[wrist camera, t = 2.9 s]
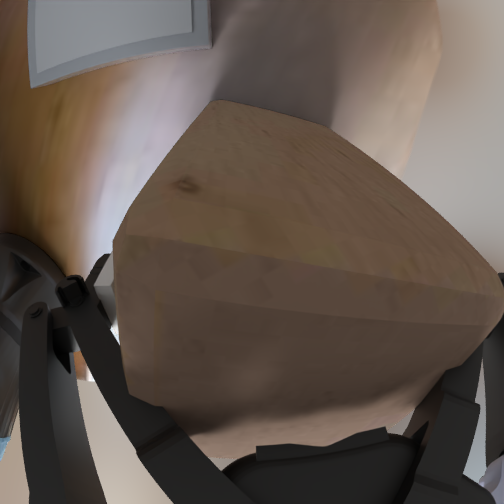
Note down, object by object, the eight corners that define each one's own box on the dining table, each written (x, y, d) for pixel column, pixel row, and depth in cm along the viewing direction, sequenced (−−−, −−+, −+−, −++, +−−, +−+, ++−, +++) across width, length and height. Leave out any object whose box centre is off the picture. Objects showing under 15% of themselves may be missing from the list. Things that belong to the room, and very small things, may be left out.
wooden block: (208, 96, 20) (88, 218, 3) (333, 127, 22) (529, 298, 5) (186, 210, 25) (132, 452, 9) (296, 232, 27) (363, 456, 11)
